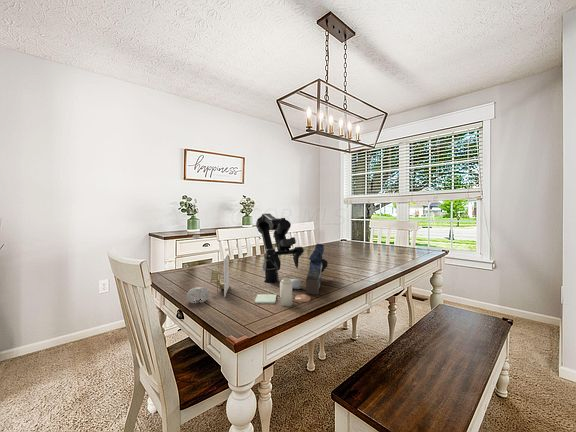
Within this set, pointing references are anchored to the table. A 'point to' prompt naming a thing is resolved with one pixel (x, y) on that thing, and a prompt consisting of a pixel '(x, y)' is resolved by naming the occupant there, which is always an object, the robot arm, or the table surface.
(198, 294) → the pendant light
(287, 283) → the stoneware bottle
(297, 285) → the white rounded cylinder
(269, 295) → the pad
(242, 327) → the table surface
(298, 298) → the tan disc
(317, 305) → the table surface
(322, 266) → the toy
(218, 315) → the table surface
